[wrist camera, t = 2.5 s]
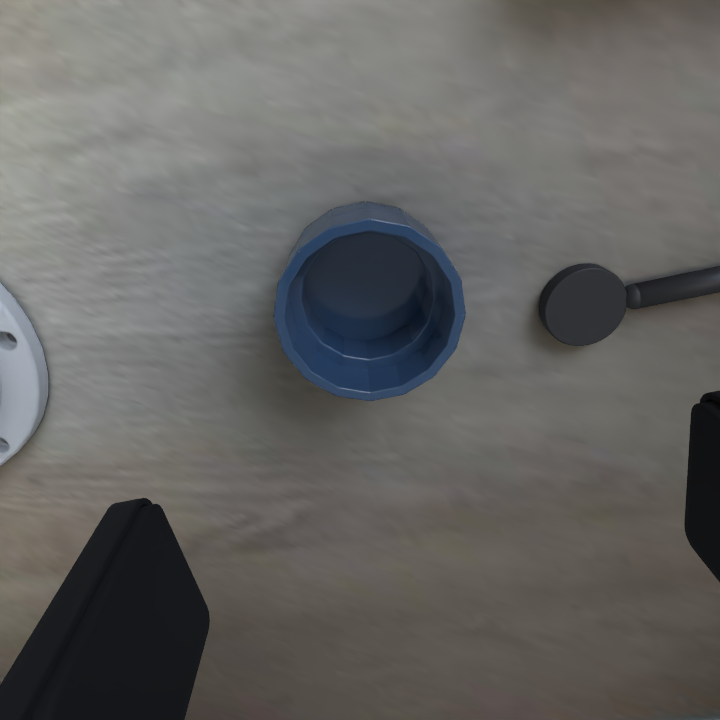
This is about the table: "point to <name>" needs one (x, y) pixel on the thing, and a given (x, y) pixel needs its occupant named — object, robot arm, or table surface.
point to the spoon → (610, 299)
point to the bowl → (368, 303)
